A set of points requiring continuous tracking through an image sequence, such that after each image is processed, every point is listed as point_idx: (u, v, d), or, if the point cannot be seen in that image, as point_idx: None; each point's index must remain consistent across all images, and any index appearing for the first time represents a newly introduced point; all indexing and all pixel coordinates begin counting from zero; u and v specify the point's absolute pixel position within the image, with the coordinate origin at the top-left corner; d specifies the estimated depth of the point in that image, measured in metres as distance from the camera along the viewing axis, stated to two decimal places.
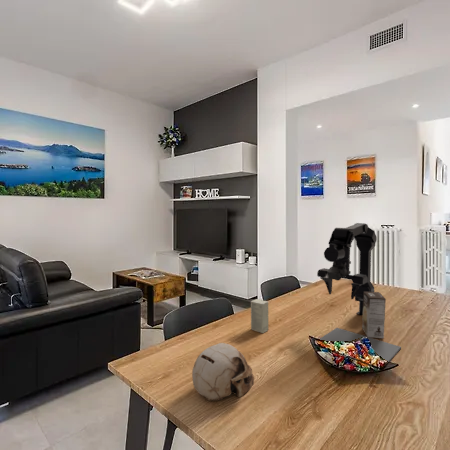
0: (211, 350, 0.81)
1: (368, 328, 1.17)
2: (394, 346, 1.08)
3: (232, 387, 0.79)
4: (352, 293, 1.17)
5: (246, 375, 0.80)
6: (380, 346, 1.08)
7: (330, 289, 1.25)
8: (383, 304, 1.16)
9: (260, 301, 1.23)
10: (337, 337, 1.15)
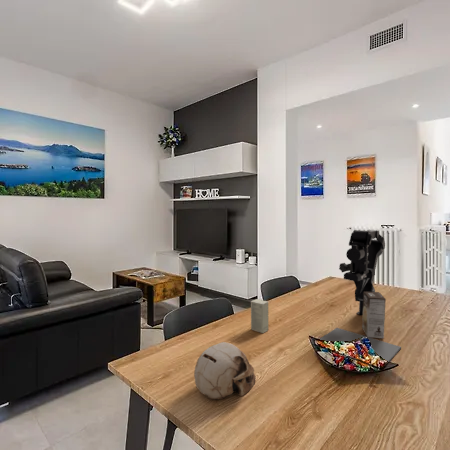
0: (213, 349, 0.81)
1: (368, 328, 1.17)
2: (394, 346, 1.08)
3: (234, 386, 0.79)
4: None
5: (248, 374, 0.80)
6: (380, 346, 1.08)
7: None
8: (383, 304, 1.16)
9: (260, 301, 1.23)
10: (337, 337, 1.15)
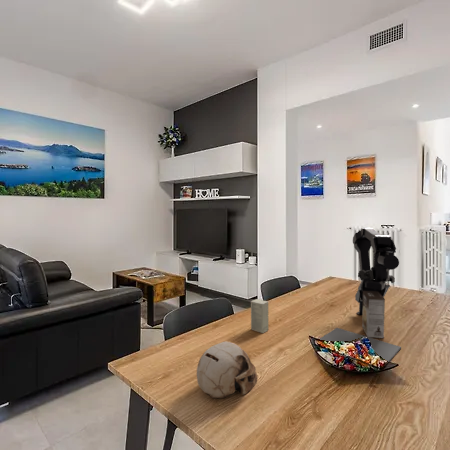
0: (215, 349, 0.82)
1: (368, 328, 1.17)
2: (394, 346, 1.08)
3: (236, 385, 0.80)
4: None
5: (250, 373, 0.81)
6: (380, 346, 1.08)
7: None
8: (382, 304, 1.15)
9: (260, 301, 1.23)
10: (337, 337, 1.15)
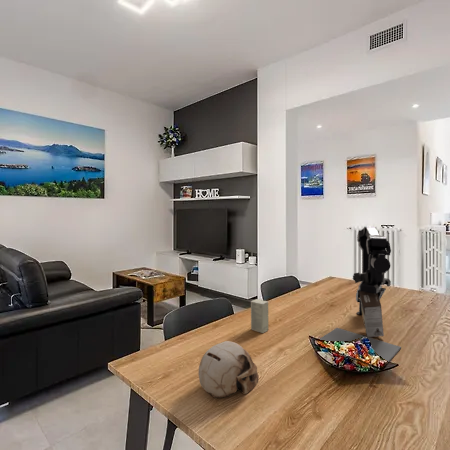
0: (217, 348, 0.82)
1: (367, 330, 1.16)
2: (394, 346, 1.08)
3: (238, 384, 0.80)
4: None
5: (251, 372, 0.81)
6: (380, 346, 1.08)
7: None
8: (379, 310, 1.10)
9: (260, 301, 1.23)
10: (337, 337, 1.15)
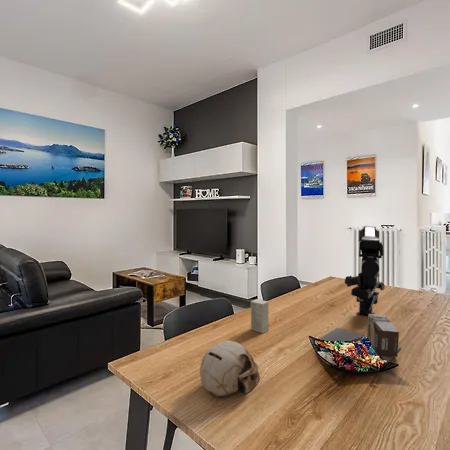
0: (218, 348, 0.83)
1: (370, 339, 1.14)
2: None
3: (239, 384, 0.80)
4: None
5: (253, 372, 0.81)
6: None
7: None
8: None
9: (260, 301, 1.23)
10: (337, 337, 1.15)
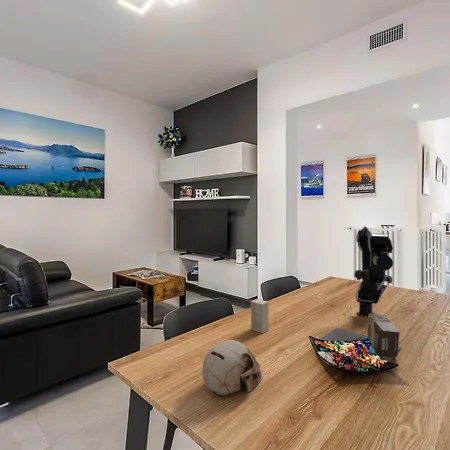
0: (221, 347, 0.83)
1: None
2: None
3: (241, 383, 0.81)
4: None
5: (255, 371, 0.82)
6: None
7: None
8: None
9: (260, 301, 1.23)
10: (337, 337, 1.15)
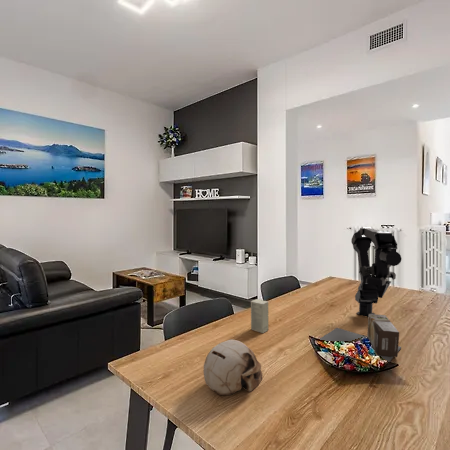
0: (222, 346, 0.83)
1: None
2: None
3: (242, 382, 0.81)
4: None
5: (256, 370, 0.82)
6: None
7: None
8: None
9: (260, 301, 1.23)
10: (337, 337, 1.15)
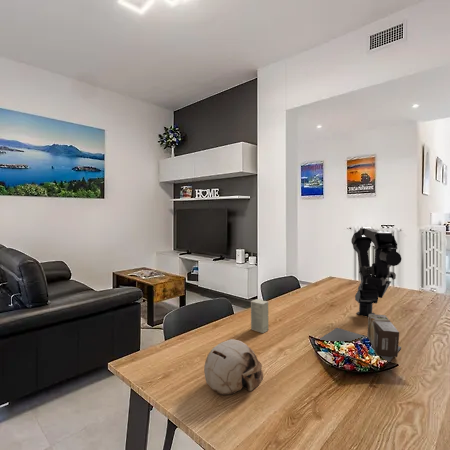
0: (222, 346, 0.83)
1: None
2: None
3: (243, 382, 0.81)
4: None
5: (256, 370, 0.82)
6: None
7: None
8: None
9: (260, 301, 1.23)
10: (337, 337, 1.15)
